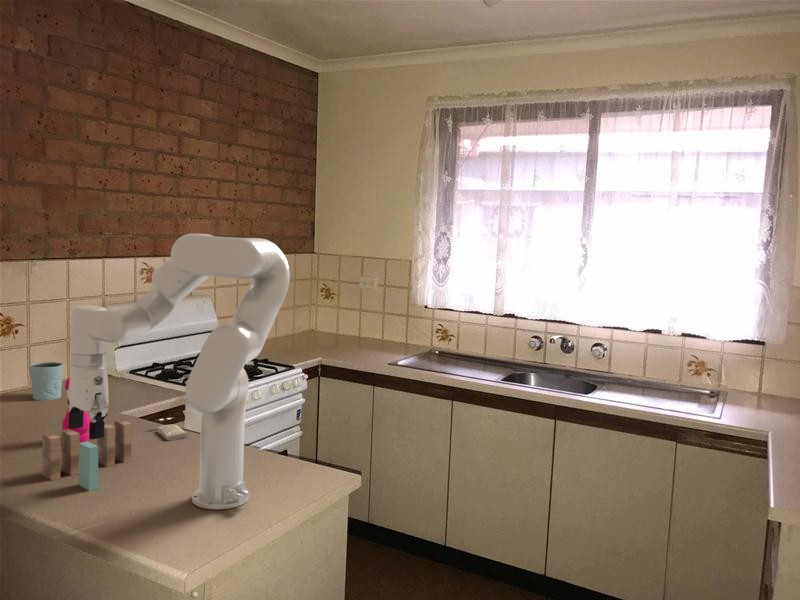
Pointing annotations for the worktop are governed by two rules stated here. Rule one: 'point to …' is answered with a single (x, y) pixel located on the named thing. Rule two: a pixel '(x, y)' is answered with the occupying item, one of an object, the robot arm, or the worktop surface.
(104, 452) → the domino
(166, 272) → the robot arm
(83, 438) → the pepper mill
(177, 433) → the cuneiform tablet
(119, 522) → the worktop surface
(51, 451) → the domino
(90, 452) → the domino
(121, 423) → the domino
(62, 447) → the domino
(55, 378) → the light blue cup
